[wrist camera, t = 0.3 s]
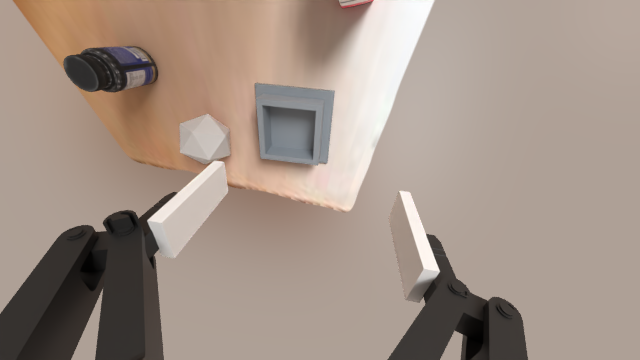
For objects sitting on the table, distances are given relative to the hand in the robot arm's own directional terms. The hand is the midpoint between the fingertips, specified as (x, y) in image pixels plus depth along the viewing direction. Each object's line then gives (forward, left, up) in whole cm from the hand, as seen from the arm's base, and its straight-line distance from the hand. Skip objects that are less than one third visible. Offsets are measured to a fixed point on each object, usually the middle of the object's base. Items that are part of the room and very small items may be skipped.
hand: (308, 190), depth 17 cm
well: (+5, -7, -27) cm, 29 cm away
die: (+8, -23, -28) cm, 37 cm away
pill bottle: (-3, -35, -28) cm, 45 cm away
